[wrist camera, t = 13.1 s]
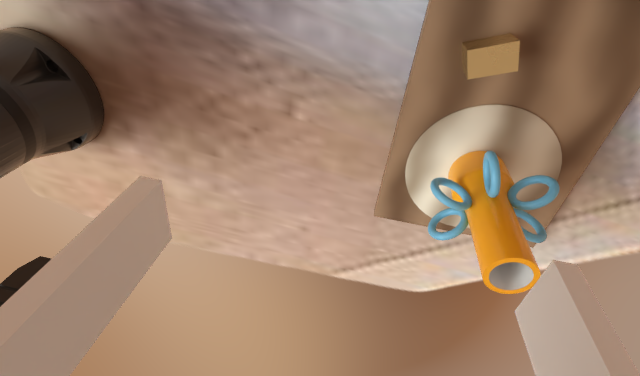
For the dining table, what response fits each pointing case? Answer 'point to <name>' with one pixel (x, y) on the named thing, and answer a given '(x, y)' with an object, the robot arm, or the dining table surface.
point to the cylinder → (494, 218)
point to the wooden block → (490, 56)
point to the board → (511, 99)
